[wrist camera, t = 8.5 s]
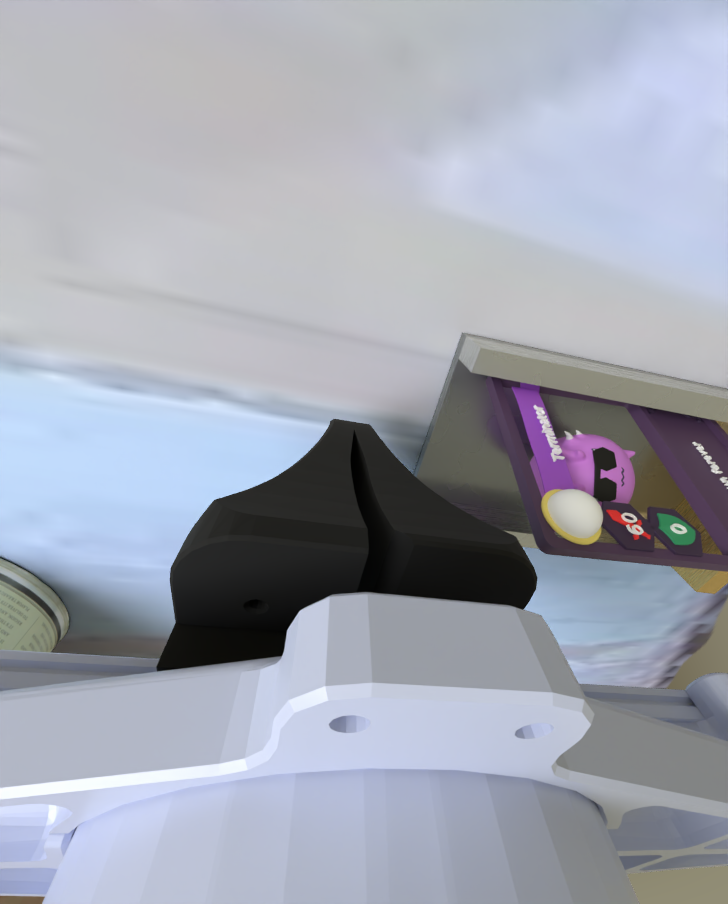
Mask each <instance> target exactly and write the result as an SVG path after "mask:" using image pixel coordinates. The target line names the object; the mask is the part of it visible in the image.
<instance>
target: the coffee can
mask: <svg viewBox="0 0 728 904" xmlns="http://www.w3.org/2000/svg"><path fill="white" fill-rule="evenodd" d="M68 628H69V615H68V612H67V609H66V607H65V606H64V604H63V602H62V601H61V599H60V598H59V597H58V596H57V595H56V594H55V592H54V591H53V590H52V589H51V588H50V587H48V586H47V585H45V584H44V583H43V582H41V581H40V580H39V579H38V578H37V577H35V576H34V575H32V574H31V573H29V572H27V571H26V570H24V569H22V568H20V567H18V566H16V565H14V564H12V563H10V562H8V561H5V560H3V559H1V558H0V650H17V651H34V652H52V650H53V649H54V647H55V646H56V645H57V643H58V642H59V641H60V640H61V639H62V638H63V637H64V636H65V634H66V633H67V631H68Z"/></svg>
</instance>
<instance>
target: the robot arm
mask: <svg viewBox="0 0 728 904" xmlns="http://www.w3.org/2000/svg"><path fill="white" fill-rule="evenodd" d="M536 584H537V576H536V573H535V570H534V567H533V565H532V564H531V562H530V560H529V558H528V557H527V555H526V553H525V551H524V550H523V548H522V546H521V544H520V542H519V541H518V539H517V538H516V536H514V535H512V534H509V533H507V532H505V531H503V530H501V529H499V528H496V527H494V526H492V525H490V524H488V523H485V522H483V521H481V520H479V519H477V518H476V517H474V516H472V515H470V514H468V513H467V512H465V511H463V510H461V509H460V508H458V507H456V506H455V505H453V504H451V503H450V502H448V501H447V500H445V499H444V498H442V497H441V496H440V495H438V494H437V493H435V492H434V491H432V490H431V489H430V488H428V487H427V486H426V485H425V484H423V483H422V482H421V481H420V480H419V479H418V478H416V477H415V476H414V475H413V474H412V473H411V472H410V471H409V470H408V469H407V468H406V467H405V466H404V465H403V464H402V463H401V462H400V461H399V460H398V459H397V458H396V457H395V456H394V455H393V453H392V452H391V451H390V450H389V449H388V448H387V446H386V445H385V444H384V443H383V441H382V440H381V439H380V437H379V436H378V435H377V433H376V432H375V431H374V429H373V428H372V427H371V426H370V425H369V424H363V423H356V422H350V421H344V420H338V419H333V420H332V421H330V425H329V427H328V429H327V430H326V432H325V433H324V435H323V436H322V437H321V439H320V440H319V441H318V442H317V443H316V445H315V446H314V447H313V448H312V449H311V450H310V451H309V452H308V453H307V454H306V455H305V456H304V457H303V458H301V459H300V460H299V461H298V462H297V463H295V464H294V465H293V466H291V467H290V468H289V469H287V470H286V471H284V472H283V473H281V474H279V475H278V476H276V477H275V478H273V479H271V480H269V481H267V482H264V483H262V484H260V485H258V486H255V487H253V488H250V489H248V490H245V491H242V492H239V493H236V494H232V495H229V496H226V497H223V498H219V499H216V500H214V501H213V502H212V503H211V505H210V506H209V507H208V508H207V510H206V511H205V512H204V513H203V515H202V516H201V517H200V519H199V520H198V521H197V523H196V524H195V525H194V527H193V528H192V530H191V531H190V533H189V534H188V536H187V538H186V540H185V541H184V543H183V545H182V547H181V549H180V551H179V553H178V555H177V557H176V559H175V561H174V563H173V565H172V567H171V572H170V586H171V593H172V600H173V606H174V613H175V620H176V624H175V626H174V628H173V630H172V633H171V635H170V637H169V639H168V642H167V644H166V646H165V648H164V651H163V653H162V655H161V657H160V659H152V658H135V657H118V656H101V655H84V654H68V653H51V652H34V651H17V650H0V896H42V897H45V898H44V900H43V903H42V904H640V903H639V901H638V899H637V897H636V894H635V892H634V890H633V887H632V885H631V883H630V881H629V878H628V876H627V874H631V873H641V872H652V871H663V870H676V869H687V868H700V867H715V866H728V673H710V674H707V675H703V676H701V677H699V678H697V679H696V680H694V681H693V682H692V683H690V684H689V685H688V686H687V687H686V690H673V689H657V688H641V687H624V686H607V685H590V684H579V683H578V681H577V680H576V678H575V676H574V674H573V672H572V670H571V668H570V666H569V664H568V662H567V660H566V658H565V656H564V654H563V653H562V651H561V649H560V647H559V645H558V643H557V641H556V639H555V637H554V635H553V633H552V631H551V630H550V628H549V627H548V625H547V624H546V622H545V621H544V619H543V618H542V616H541V615H538V614H535V613H532V612H529V611H526V610H523V609H524V608H525V607H526V605H527V604H528V602H529V601H530V599H531V597H532V595H533V593H534V592H535V590H536Z"/></svg>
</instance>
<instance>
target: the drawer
mask: <svg viewBox="0 0 728 904" xmlns="http://www.w3.org/2000/svg"><path fill="white" fill-rule="evenodd" d="M488 376H492V377H497V378H502V379H507V380H512V381H517V382H522V383H527V384H532V385H538V386H543V387H548V388H553V389H558V390H563V391H568V392H573V393H578V394H584V395H589V396H594V397H599V398H604V399H609V400H614V401H619V402H624V403H630V404H635V405H640V406H645V407H650V408H655V409H660V410H665V411H670V412H675V413H681V414H686V415H691V416H696V417H701V418H706V419H711V420H715V421H716V422H717V423H718V424H719V425H720V427H721V428H722V429H723V430H724V431H725V432H726V433H727V435H728V389H726V388H721V387H716V386H711V385H707V384H702V383H697V382H693V381H688V380H683V379H678V378H674V377H669V376H664V375H660V374H655V373H650V372H646V371H641V370H636V369H631V368H627V367H622V366H617V365H613V364H608V363H603V362H599V361H594V360H589V359H584V358H580V357H575V356H570V355H566V354H561V353H556V352H551V351H547V350H542V349H537V348H533V347H528V346H523V345H519V344H514V343H509V342H504V341H500V340H495V339H490V338H486V337H481V336H476V335H472V334H467V333H462V335H461V338H460V341H459V344H458V347H457V350H456V352H455V355H454V358H453V361H452V364H451V367H450V370H449V373H448V376H447V379H446V381H445V384H444V387H443V390H442V393H441V396H440V399H439V402H438V405H437V408H436V410H435V413H434V416H433V419H432V422H431V425H430V428H429V431H428V434H427V437H426V439H425V442H424V445H423V448H422V451H421V454H420V457H419V460H418V463H417V466H416V468H415V471H414V474H413V475H414V476H415V477H416V478H418V479H419V480H420V481H421V482H422V483H423V484H425V485H426V486H427V487H428V488H430V489H431V490H432V491H434V492H435V493H437V494H438V495H440V496H441V497H442V498H444V499H445V500H447V501H448V502H450V503H451V504H453V505H455V506H456V507H458V508H460V509H461V510H463V511H465V512H467V513H468V514H470V515H472V516H474V517H476V518H477V519H479V520H481V521H483V522H485V523H488V524H490V525H492V526H494V527H496V528H499V529H501V530H503V531H505V532H507V533H509V534H512V535H514V536H516V538H517V539H518V541H519V542H520V544H521V546H522V547H530V548H538V547H537V545H536V542H535V539H534V536H533V533H532V530H531V526H530V523H529V520H528V517H527V513H526V510H525V507H524V504H523V501H522V497H521V494H520V491H519V488H518V485H517V481H516V478H515V475H514V472H513V469H512V465H511V462H510V459H509V456H508V452H507V449H506V446H505V443H504V440H503V436H502V433H501V430H500V427H499V424H498V420H497V417H496V414H495V411H494V407H493V404H492V401H491V398H490V395H489V391H488V388H487V385H486V379H487V377H488ZM503 389H504V392H505V395H506V398H507V400H508V403H509V406H510V409H511V412H512V414H513V417H514V420H515V423H516V426H517V429H518V431H519V434H520V437H521V440H522V443H523V445H524V448H525V451H526V454H527V457H528V460H529V462H530V461H531V459H532V457H533V456H534V453H533V450H532V448H531V445H530V442H529V439H528V436H527V432H526V429H525V425H524V422H523V418H522V415H521V412H520V409H519V405H518V402H517V399H516V397H515V394H514V392H513V389H512V388H506V387H503ZM539 395H540V397H541V399H542V401H543V404H544V406H545V408H546V411H547V414H548V416H549V419H550V422H551V425H552V428H553V431H554V434H555V436H556V439H558V438H562V437H566V434H565V432H564V431H567V432H569V433H570V434H571V435H576V430H578V431H579V432H581V433H582V434H593V435H598V436H602V437H605V438H608V439H610V440H612V441H613V442H615V443H616V444H617V445H618V446H620V447H621V448H622V449H623V450H630V451H634V452H635V455H634V456H632V457H631V458H629V459H630V461H631V463H632V466H633V470H634V474H635V487H634V491H633V495H632V497H631V500H630V502H629V503H628V504H630V505H631V506H632V507H633V508H634V509H635V510H637V511H638V512H639V513H640V514H641V515H642V516H643V517H644V518H645V519H646V520H647V508H648V507H650V506H651V507H659V508H667V509H675V510H676V511H677V512H678V513H679V514H680V515H681V516H682V517H683V518H685V519H686V520H687V521H688V522H689V523H690V524H691V525H692V526H693V527H695V528H696V529H697V530H698V531H699V532H700V533H701V541H702V550H703V553H708V554H718V555H722V553H721V551H720V550H719V548H718V547H717V545H716V544H715V542H714V541H713V539H712V538H711V536H710V535H709V533H708V532H707V530H706V529H705V527H704V526H703V524H702V523H701V521H700V520H699V518H698V516H697V515H696V513H695V512H694V510H693V509H692V507H691V506H690V504H689V503H688V501H687V500H686V498H685V497H684V495H683V494H682V492H681V491H680V489H679V488H678V486H677V485H676V483H675V482H674V480H673V479H672V477H671V475H670V474H669V472H668V471H667V469H666V468H665V466H664V465H663V463H662V462H661V460H660V459H659V457H658V456H657V454H656V453H655V451H654V450H653V448H652V447H651V445H650V444H649V442H648V441H647V439H646V438H645V436H644V434H643V433H642V431H641V430H640V428H639V427H638V425H637V424H636V422H635V421H634V419H633V418H632V416H631V415H630V413H629V412H628V410H627V409H626V408H625V407H622V406H616V405H610V404H604V403H598V402H592V401H586V400H579V399H573V398H567V397H561V396H555V395H549V394H543V393H539ZM554 533H555V535H556V536H558V537H559V538H563V537H562V536H560V535H559V534H558V533H557V532H554ZM654 537H655V536H654ZM596 542H603V543H613V544H619V543H618V542H617V541H616V540H615V539H614V538H613V537H612V536H611V535H610V534H609V533H608V532H607V531H606V530H605V529H604V528H603V527H602V526H601V535H600V537H599V539H598V540H597V541H596ZM655 548H660V549H667V548H666V547H665V546H664V545H663V544H662V543H661V542H660V541H659V540H658V539H657V538H656V537H655ZM538 549H539V548H538ZM671 567H672V568H673V569H674V570H675V571H676V572H677V573H678V574H679V575H680V576H681V577H682V578H683V579H684V580H685V581H686V582H687V583H688V584H689V585H690V586H691V587H692V588H693V589H694V590H695V591H696V592H703V593H712V594H715V593H716V592H717V591H719V590H720V589H721V588H722V587H723V586H725V585H726V584H727V583H728V572H725V571H715V570H705V569H694V568H684V567H674V566H671Z"/></svg>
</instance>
